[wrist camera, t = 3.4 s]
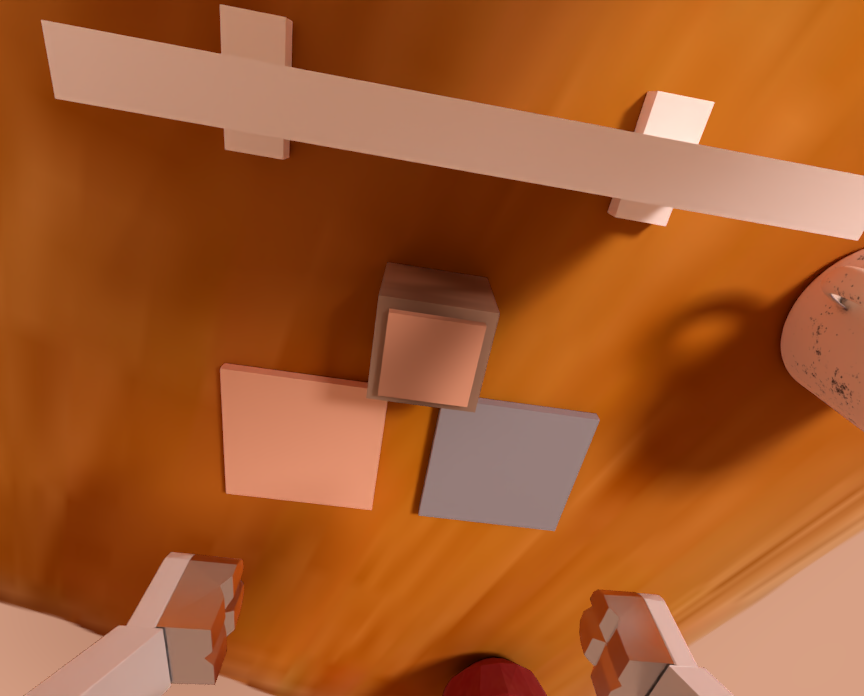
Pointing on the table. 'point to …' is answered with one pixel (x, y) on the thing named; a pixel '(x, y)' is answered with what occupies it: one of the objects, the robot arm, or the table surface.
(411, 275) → the cube with pink top
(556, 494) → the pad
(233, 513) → the table surface
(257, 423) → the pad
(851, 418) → the teacup with lid
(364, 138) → the screen
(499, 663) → the apple
